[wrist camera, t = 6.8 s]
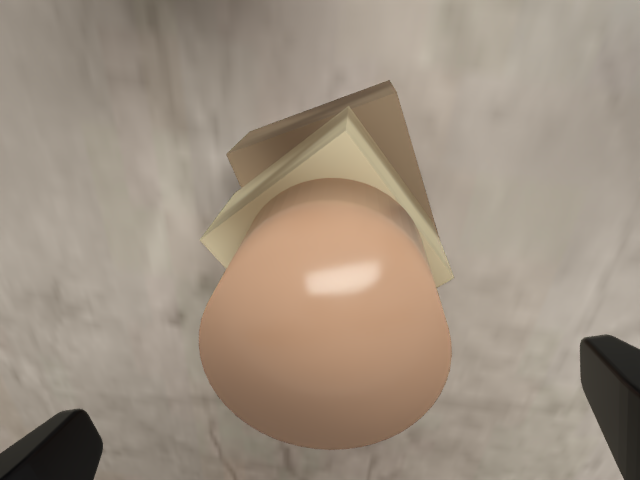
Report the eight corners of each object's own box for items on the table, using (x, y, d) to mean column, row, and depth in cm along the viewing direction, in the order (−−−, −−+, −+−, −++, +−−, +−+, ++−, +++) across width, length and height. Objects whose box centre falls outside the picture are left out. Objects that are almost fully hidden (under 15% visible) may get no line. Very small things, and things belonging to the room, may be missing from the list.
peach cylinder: (412, 162, 12) (437, 221, 8) (434, 328, 14) (462, 438, 10) (222, 195, 12) (164, 264, 9) (268, 349, 14) (237, 459, 11)
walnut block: (389, 79, 18) (396, 92, 15) (429, 214, 21) (444, 254, 17) (250, 130, 20) (226, 154, 16) (301, 253, 22) (290, 298, 18)
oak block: (348, 105, 15) (345, 130, 11) (433, 222, 16) (454, 278, 13) (234, 193, 17) (199, 240, 13) (320, 293, 18) (311, 360, 14)
